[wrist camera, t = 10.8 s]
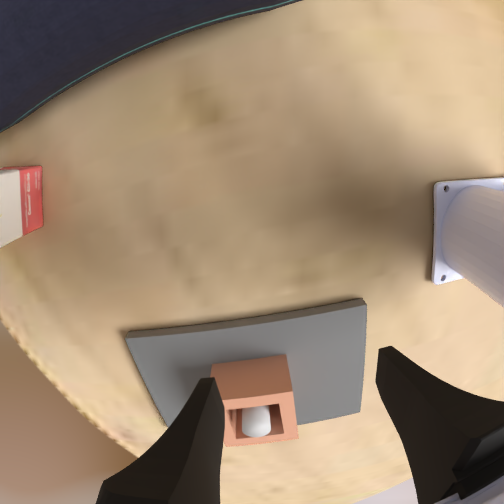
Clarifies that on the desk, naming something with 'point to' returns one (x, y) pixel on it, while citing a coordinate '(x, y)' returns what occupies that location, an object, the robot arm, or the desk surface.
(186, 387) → the post base
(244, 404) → the collar
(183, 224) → the desk surface
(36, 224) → the ink cartridge box
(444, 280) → the robot arm
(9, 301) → the desk surface
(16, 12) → the portable speaker
